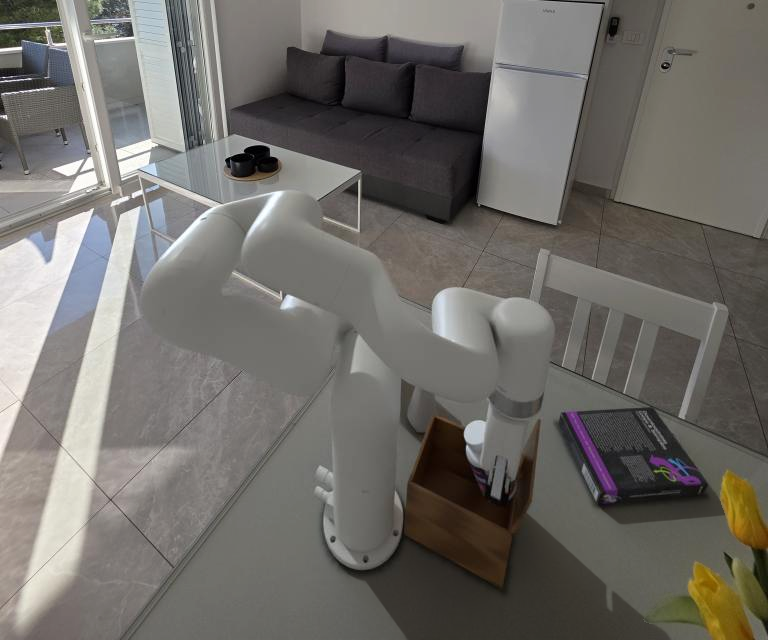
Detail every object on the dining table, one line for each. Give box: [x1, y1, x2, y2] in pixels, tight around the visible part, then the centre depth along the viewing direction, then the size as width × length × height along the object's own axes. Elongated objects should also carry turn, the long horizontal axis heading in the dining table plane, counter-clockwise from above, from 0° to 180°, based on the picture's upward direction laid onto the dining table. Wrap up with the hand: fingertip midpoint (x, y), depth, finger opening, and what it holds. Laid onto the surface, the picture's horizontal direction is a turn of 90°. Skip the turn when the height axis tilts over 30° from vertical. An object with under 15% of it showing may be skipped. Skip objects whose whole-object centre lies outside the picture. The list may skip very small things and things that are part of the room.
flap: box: [512, 418, 542, 534], centre depth 60 cm, size 7×12×1 cm
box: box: [558, 406, 710, 505], centre depth 77 cm, size 14×4×20 cm
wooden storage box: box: [403, 414, 523, 590], centre depth 67 cm, size 15×12×12 cm
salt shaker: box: [406, 386, 438, 434], centre depth 81 cm, size 6×6×13 cm
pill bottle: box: [464, 419, 516, 501], centre depth 63 cm, size 5×5×10 cm
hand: (499, 479), depth 63 cm, fingers closed on pill bottle, 5 cm apart
